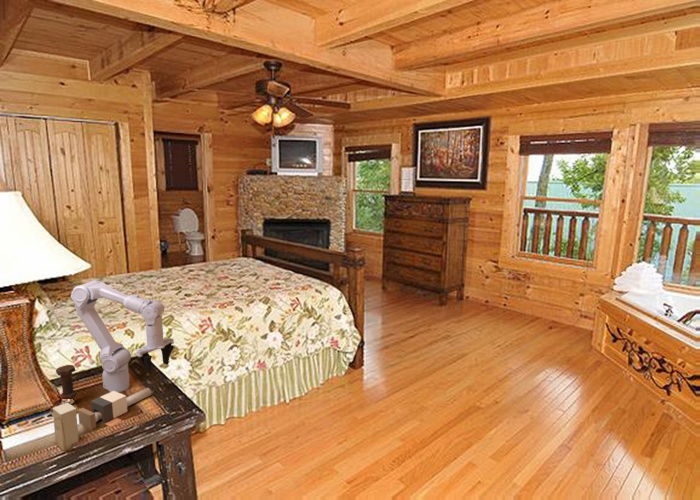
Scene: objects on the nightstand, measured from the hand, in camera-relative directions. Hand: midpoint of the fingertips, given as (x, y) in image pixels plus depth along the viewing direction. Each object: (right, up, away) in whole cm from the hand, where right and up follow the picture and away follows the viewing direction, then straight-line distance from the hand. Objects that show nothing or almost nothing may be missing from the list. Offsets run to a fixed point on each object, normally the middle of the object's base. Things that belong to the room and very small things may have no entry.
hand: (157, 367), depth 158 cm
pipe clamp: (-7, -12, -14) cm, 20 cm away
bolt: (-27, -12, -10) cm, 31 cm away
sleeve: (-8, -11, -15) cm, 20 cm away
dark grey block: (-10, -12, -18) cm, 24 cm away
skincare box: (-13, -15, -31) cm, 37 cm away
